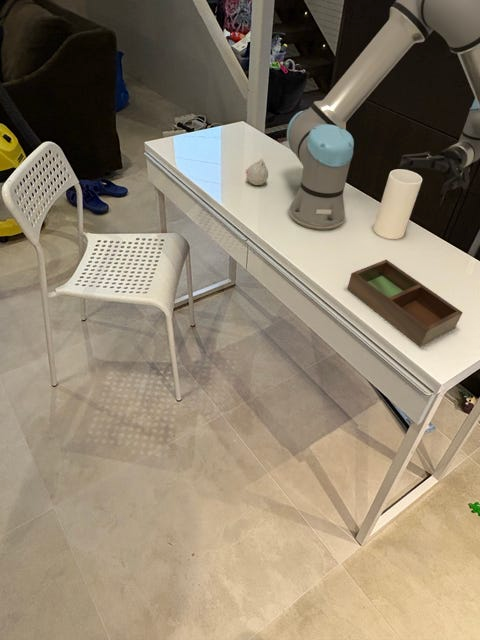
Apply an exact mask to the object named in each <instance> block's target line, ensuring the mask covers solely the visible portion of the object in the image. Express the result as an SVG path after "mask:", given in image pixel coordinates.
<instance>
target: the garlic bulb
mask: <svg viewBox="0 0 480 640" xmlns="http://www.w3.org/2000/svg"><path fill="white" fill-rule="evenodd" d="M244 173H245V176H246V178H247V180H248V182H249V183H251V184H252V185H254V186H261V185H263V184H264V183H266V182H267V180H268V178H269V170H268V167H267V166H266V164H265V161H264V159H263V158H260V159H259V160H258V161H256V162H254V163H253V164H251V165H249V167H248V168H246V169H245V171H244Z"/></svg>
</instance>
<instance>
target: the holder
mask: <svg viewBox="0 0 480 640" xmlns="http://www.w3.org/2000/svg"><path fill="white" fill-rule="evenodd" d="M347 291H349V292H350V293H351V294H352V295H353V296H355V297H357V298H358V300H360V301H361V302H363V303H364V304H365V305H367V306H368V307H369V308H370V309H371V310H373V311H374V312H375V313H377V314H378V315H379V316H380V317H382V318H383V319H384V320H385V321H387V322H388V323H389V324H390V325H392V326H393V327H394V328H396V329H397V330H398V331H399V332H401V333H402V334H403V335H404V336H406V337H407V338H408V339H409V340H411V341H412V342H413V343H415V344H416V345H417V346H418V347H420V348H421V347H423V346H425V345H427V344H429V343H431V342H432V341H434V340H436V339H438V338H440V337H442V336H444V335H445V334H447V333H449V332H451V331H453V330H455V328H456V327H457V325H458V323H459V322H460V319H461V317H462V315H463V314H464V313H463V311H462V310H460V309H458V308H457V307H456V306H454V305H453V304H451V303H450V302H449V301H447V300H446V299H445V298H443V297H441V296H440V295H438V294H437V293H436V292H434V291H432V290H431V289H430V288H429V287H427V286H425V285H423V284H422V283H421V282H420V281H418V280H417V279H415V278H414V277H412V276H411V275H409V274H408V273H406V272H405V271H403V270H402V269H401V268H399V267H398V266H396V265H395V264H394V263H392V262H390V261H389V260H388V259H383V260H381V261H378V262H376V263H374V264H371V265H368V266H365V267H363V268H361V269H358V270H356V271H353V272H351V273H350V277H349V281H348V285H347Z"/></svg>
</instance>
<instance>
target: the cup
mask: <svg viewBox="0 0 480 640" xmlns="http://www.w3.org/2000/svg"><path fill="white" fill-rule="evenodd" d="M422 183H423V178H422V176H421V175H420V174H418V173H417V172H414V171H412V170H402V169H398V170H397V169H393V170H391V171H390V172H389V174H388V178H387V181H386V185H385V187H384V191H383V195H382V197H381V201H380V205H379V208H378V211H377V215H376V218H375V222H374V226H373V231H374V232H375V234H377V235H378V236H379V237H381V238H384V239H388V240H398V239H402V238H403V236H405V232H406V229H407V227H408V224H409V220H410V218H411V215H412V212H413V209H414V207H415V203H416V200H417V197H418V195H419V191H420V189H421V185H422Z"/></svg>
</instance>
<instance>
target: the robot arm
mask: <svg viewBox="0 0 480 640" xmlns="http://www.w3.org/2000/svg"><path fill="white" fill-rule="evenodd" d="M433 31H435V32H436V33H437V34H439V36H441V37H442V38H443V39H444V40H445V42H446V44H447V46H448V48H449V50H450V52H451V53H453V54H457V57H458V59H459V62H460V64H461V66H462V68H463V71H464V74H465V76H466V78H467V81H468V83H469V86H470V88H471V91H472V93H473V96H474V100H473V102H472V105H471V107H470V108H469V111H468V115H467V118H466V121H465V123H464V126H463V129H462V132H461V134H460V137H459V140H458V141H457V142H456V143H454V144H452V145H450V146H449V147H447V148H445V149H443V150H442V151H441V152H440V153H438V155H434V156H433V155H431V151H424V152H421V153H409V154H402V155H401V158H400V162H399V164H398V165H397V167H396V170H398V169H402V170H408V171H410V169H412V168H413V169H427V170H430V171H431V170H432V171H438V172H441V173H442V174H443V175H446V177H447V178H449V179H448V180H447V181H445V182H444V183H442V187H441V189H440V192H439V193H440V195H443V194H445V193H446V192H448V191H449V190H455V189H456V188H460V187H461V189H462V190H467V188H468V186H469V183H470V170H471V167H470V165H471V164H473V163H475V162H477V161H479V160H480V0H395V1H394V3H393V4H392V5H391V7H390V8H389V18H388V20H387V21H386V23H385V24H384V25H383V26H382V27H381V29H380V30H379V31H378V32H377V33H376V35H375V36H374V37H373V38H372V40H371V41H370V42H369V43H368V44H367V46H366V47H365V48H364V49H363V50H362V52H361V53H360V54H359V56H357V58H356V59H355V61H354V62H353V63H352V64H351V65H350V66H349V68H348V69H347V70H346V71H345V73H344V74H343V75H342V76H341V77H340V78H339V79H338V81H337V82H336V83H335V85H334V86H333V87H332V88H331V90H330V91H329V92H328V94H326V96H325V97H324V99H323V98H322V100H315V101H314V102H313V103H312V104H311V105H310V106H309V108H308V109H304V110H301V111H298V112H296V114H294V116H293V117H292V118H291V119H290V121H289V123H288V125H287V129H286V140H287V143H288V145H289V148H290V150H291V151H292V153H293V154H294V155H295V157H297V159H298V160H299V162H300V163H301V165H302V167H303V168H302V175H301V180H300V186H299V189H298V191H297V192H296V194H295V196H294V198H293V200H292V202H291V204H290V206H289V216H290V218H291V220H293V222H295V223H297V224H298V225H300V226H302V227H304V228H308V229H311V230H318V231H327V230H333V229H336V228H339V227H341V225H343V223H344V220H345V215H346V210H345V202H344V192H345V191H344V190H345V187H346V184H347V183H346V182H347V178H348V173H349V169H350V166H351V161H352V159H353V155H354V146H355V142H354V141H355V139H354V138H353V136H352V134H351V133H350V132H349V131H348V130H347V122H348V120H349V119H350V118H351V117H352V116H353V114H354V113H355V112H356V111H357V110H358V109H359V108H360V106H361V105H362V104H363V103H364V102H365V101H366V100H367V98H368V97H369V96H370V95H371V94H372V92H373V91H374V90H376V88H377V87H378V85H379V84H380V83H381V82H382V81H383V80H384V78H385V77H387V75H388V74H389V73H390V72H391V71H392V69H394V68H395V66H396V65H397V64H398V62H399V61H400V60H401V59H402V58H403V57H404V55H405V54H406V53H407V52H408V51H409V50H410V49H411V48H412V46H414V44H416V43H417V44H418V43H423V42H425V41H426V40H427V38H428V37H429V36H430V35H431V33H432V32H433Z"/></svg>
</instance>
